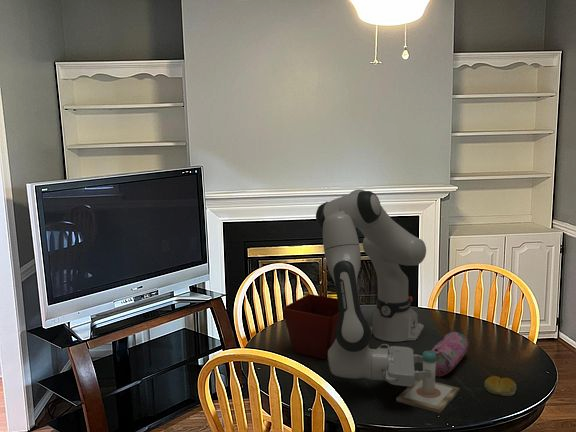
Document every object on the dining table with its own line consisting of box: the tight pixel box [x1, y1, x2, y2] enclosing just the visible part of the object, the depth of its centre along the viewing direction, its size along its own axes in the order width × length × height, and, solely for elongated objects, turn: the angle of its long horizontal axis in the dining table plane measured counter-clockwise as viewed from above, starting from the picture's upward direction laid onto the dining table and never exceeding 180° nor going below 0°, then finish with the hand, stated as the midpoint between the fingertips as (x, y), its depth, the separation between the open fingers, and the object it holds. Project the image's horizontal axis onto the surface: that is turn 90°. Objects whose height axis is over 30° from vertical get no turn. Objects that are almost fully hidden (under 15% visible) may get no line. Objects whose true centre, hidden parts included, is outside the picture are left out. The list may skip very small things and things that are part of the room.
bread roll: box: [484, 375, 518, 397], centre depth 181 cm, size 8×9×4 cm
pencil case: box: [430, 331, 470, 377], centre depth 198 cm, size 21×9×9 cm, turn 146°
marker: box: [422, 350, 436, 395], centre depth 177 cm, size 4×4×12 cm
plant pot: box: [282, 293, 339, 360], centre depth 212 cm, size 19×19×17 cm
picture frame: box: [395, 379, 461, 414], centre depth 178 cm, size 16×13×1 cm
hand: (430, 367), depth 177 cm, fingers open, 8 cm apart
